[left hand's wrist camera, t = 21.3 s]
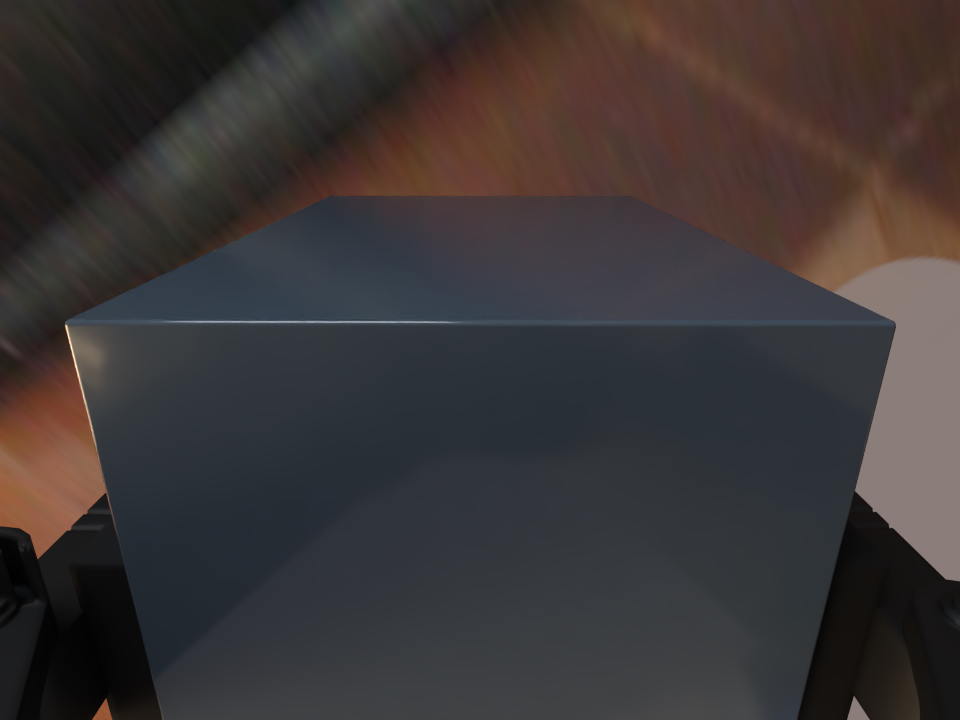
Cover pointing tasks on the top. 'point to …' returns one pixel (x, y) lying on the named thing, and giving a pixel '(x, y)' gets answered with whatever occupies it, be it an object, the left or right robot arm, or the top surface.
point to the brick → (480, 464)
